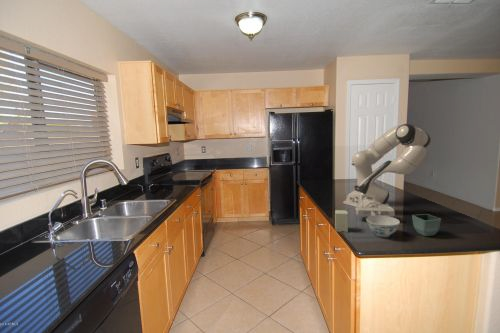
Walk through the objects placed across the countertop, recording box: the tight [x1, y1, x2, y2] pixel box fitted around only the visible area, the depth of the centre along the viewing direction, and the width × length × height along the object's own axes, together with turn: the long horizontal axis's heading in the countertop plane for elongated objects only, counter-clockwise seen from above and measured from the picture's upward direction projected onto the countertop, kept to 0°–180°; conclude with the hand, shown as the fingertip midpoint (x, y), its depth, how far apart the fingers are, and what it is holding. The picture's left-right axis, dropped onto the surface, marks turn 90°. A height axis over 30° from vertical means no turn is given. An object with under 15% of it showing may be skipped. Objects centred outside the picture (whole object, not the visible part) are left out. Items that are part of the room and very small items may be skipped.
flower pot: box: [411, 213, 442, 237], centre depth 127 cm, size 9×9×9 cm
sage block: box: [334, 209, 349, 233], centre depth 138 cm, size 6×6×10 cm
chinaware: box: [365, 215, 401, 238], centre depth 129 cm, size 15×15×8 cm
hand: (377, 215), depth 141 cm, fingers closed
